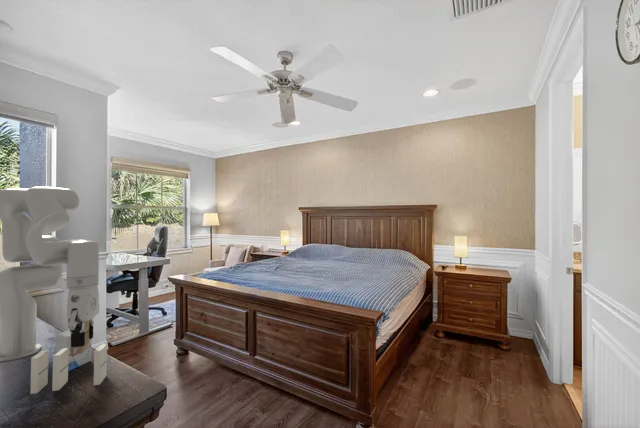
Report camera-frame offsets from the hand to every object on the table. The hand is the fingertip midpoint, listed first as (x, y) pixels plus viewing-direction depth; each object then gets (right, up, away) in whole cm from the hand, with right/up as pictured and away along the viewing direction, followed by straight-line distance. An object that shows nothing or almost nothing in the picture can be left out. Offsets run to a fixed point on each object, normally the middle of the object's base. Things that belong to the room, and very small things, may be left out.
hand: (82, 342), depth 89 cm
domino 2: (-5, -12, -1) cm, 13 cm away
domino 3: (0, -2, 0) cm, 2 cm away
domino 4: (+4, -12, +2) cm, 13 cm away
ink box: (-11, -13, +10) cm, 20 cm away
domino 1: (-10, -12, -3) cm, 16 cm away
